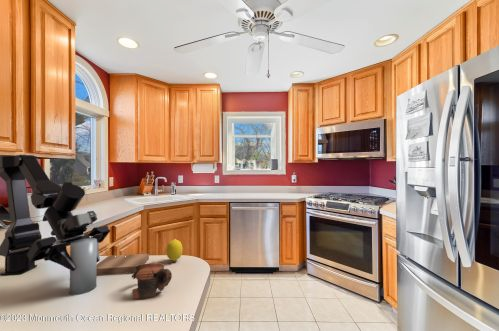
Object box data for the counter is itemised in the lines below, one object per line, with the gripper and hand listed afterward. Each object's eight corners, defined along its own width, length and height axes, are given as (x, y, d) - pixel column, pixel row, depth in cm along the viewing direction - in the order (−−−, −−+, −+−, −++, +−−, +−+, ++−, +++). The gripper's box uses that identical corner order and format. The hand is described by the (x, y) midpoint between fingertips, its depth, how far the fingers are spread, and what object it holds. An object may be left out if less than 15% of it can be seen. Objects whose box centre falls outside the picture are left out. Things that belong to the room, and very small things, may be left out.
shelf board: (90, 275, 73) (90, 269, 73) (108, 261, 85) (108, 255, 85) (137, 272, 74) (137, 266, 74) (148, 259, 86) (148, 253, 86)
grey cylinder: (64, 295, 61) (64, 244, 61) (78, 284, 67) (78, 238, 67) (88, 293, 61) (89, 243, 62) (100, 283, 67) (101, 237, 68)
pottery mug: (119, 301, 58) (124, 266, 63) (146, 301, 66) (149, 270, 70) (160, 293, 56) (163, 257, 60) (183, 294, 63) (183, 262, 68)
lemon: (177, 264, 80) (177, 241, 80) (163, 263, 81) (163, 240, 82) (185, 259, 86) (185, 237, 86) (171, 258, 87) (171, 236, 87)
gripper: (34, 207, 58) (60, 258, 53) (106, 199, 75) (131, 237, 70) (17, 237, 61) (40, 287, 56) (90, 222, 78) (113, 260, 73)
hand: (86, 265), depth 64 cm, fingers closed on grey cylinder, 6 cm apart
